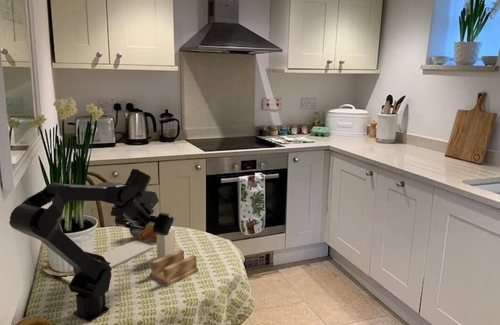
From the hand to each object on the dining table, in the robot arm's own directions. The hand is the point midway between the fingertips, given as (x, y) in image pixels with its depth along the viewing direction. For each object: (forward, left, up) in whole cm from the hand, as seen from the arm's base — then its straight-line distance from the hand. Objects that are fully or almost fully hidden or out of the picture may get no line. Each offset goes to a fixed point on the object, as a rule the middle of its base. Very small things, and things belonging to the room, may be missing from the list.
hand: (155, 231), depth 129 cm
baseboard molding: (-7, +17, -13) cm, 22 cm away
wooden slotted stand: (-1, -8, -12) cm, 15 cm away
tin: (+15, +17, -12) cm, 26 cm away
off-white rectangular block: (+5, +1, -12) cm, 13 cm away
